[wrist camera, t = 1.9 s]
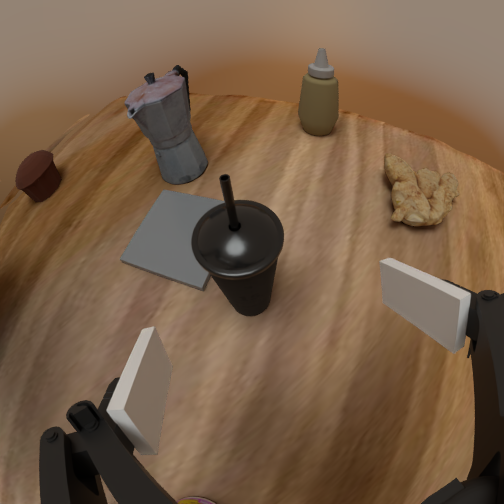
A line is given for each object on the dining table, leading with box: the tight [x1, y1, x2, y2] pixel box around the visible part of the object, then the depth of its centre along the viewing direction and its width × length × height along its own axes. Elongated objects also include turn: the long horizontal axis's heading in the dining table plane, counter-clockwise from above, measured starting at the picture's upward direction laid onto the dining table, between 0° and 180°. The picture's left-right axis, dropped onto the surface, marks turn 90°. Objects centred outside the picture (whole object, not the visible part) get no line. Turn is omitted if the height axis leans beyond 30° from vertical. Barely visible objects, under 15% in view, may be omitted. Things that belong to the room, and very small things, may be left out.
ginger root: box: [384, 154, 459, 226], centre depth 38 cm, size 16×16×8 cm
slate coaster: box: [120, 190, 225, 291], centre depth 40 cm, size 14×14×1 cm
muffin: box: [16, 150, 62, 202], centre depth 47 cm, size 12×11×10 cm
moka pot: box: [125, 65, 208, 184], centre depth 40 cm, size 10×15×20 cm, turn 165°
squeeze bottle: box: [298, 48, 338, 136], centre depth 44 cm, size 8×8×18 cm
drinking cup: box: [191, 174, 284, 316], centre depth 26 cm, size 8×8×20 cm
